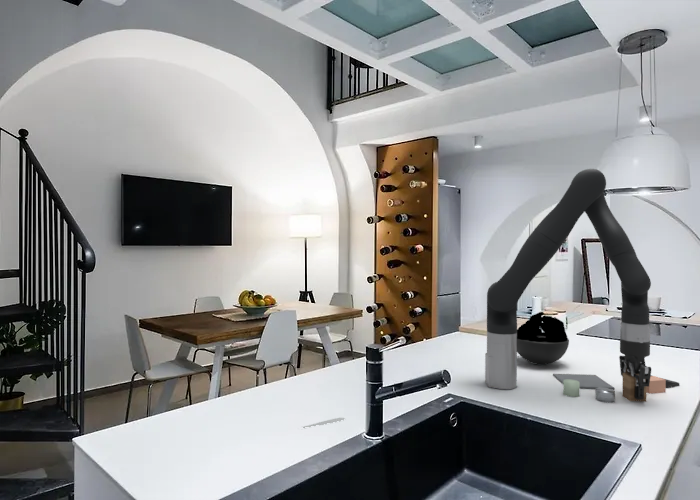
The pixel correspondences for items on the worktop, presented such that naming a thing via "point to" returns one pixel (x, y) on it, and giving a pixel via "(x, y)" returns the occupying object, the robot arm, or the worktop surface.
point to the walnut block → (631, 388)
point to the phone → (671, 383)
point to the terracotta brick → (656, 385)
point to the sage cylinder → (571, 388)
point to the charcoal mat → (585, 380)
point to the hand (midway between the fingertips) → (634, 395)
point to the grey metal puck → (605, 395)
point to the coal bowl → (542, 339)
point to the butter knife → (326, 422)
